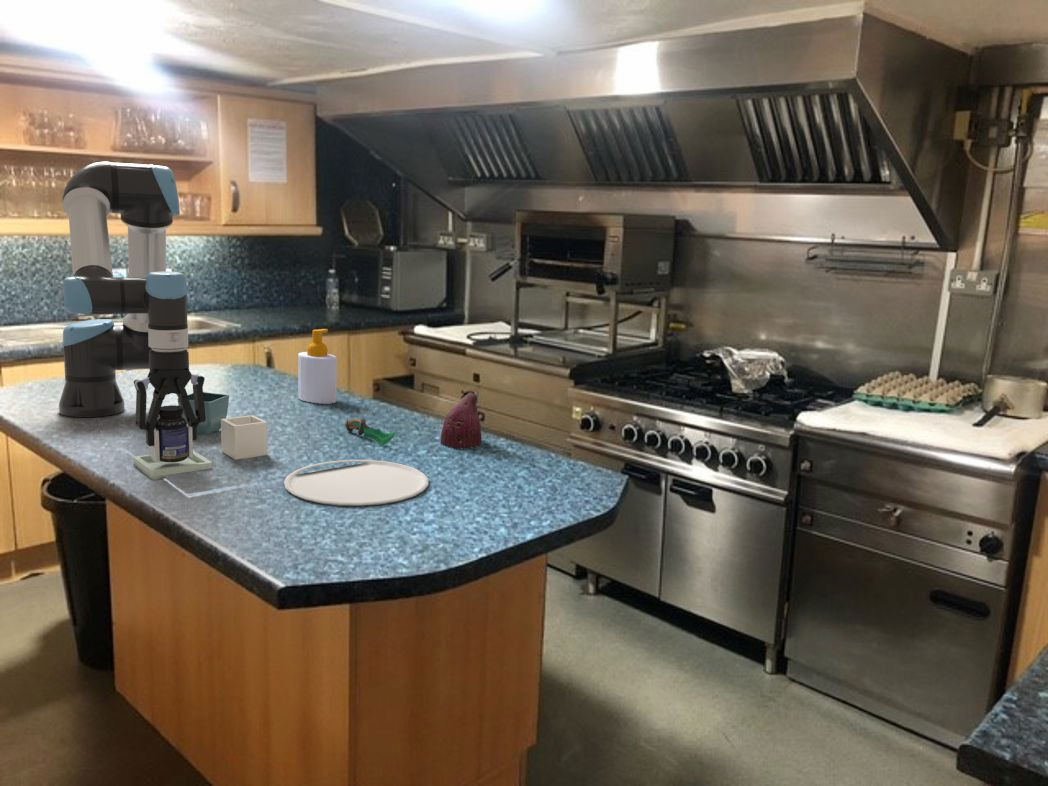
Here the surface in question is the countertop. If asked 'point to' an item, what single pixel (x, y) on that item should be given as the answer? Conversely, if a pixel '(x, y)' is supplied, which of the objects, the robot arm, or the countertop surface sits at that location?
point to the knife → (369, 431)
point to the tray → (170, 465)
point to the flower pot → (210, 411)
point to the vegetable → (462, 424)
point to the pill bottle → (172, 434)
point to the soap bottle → (317, 372)
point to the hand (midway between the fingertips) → (172, 457)
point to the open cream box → (244, 437)
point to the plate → (357, 483)
